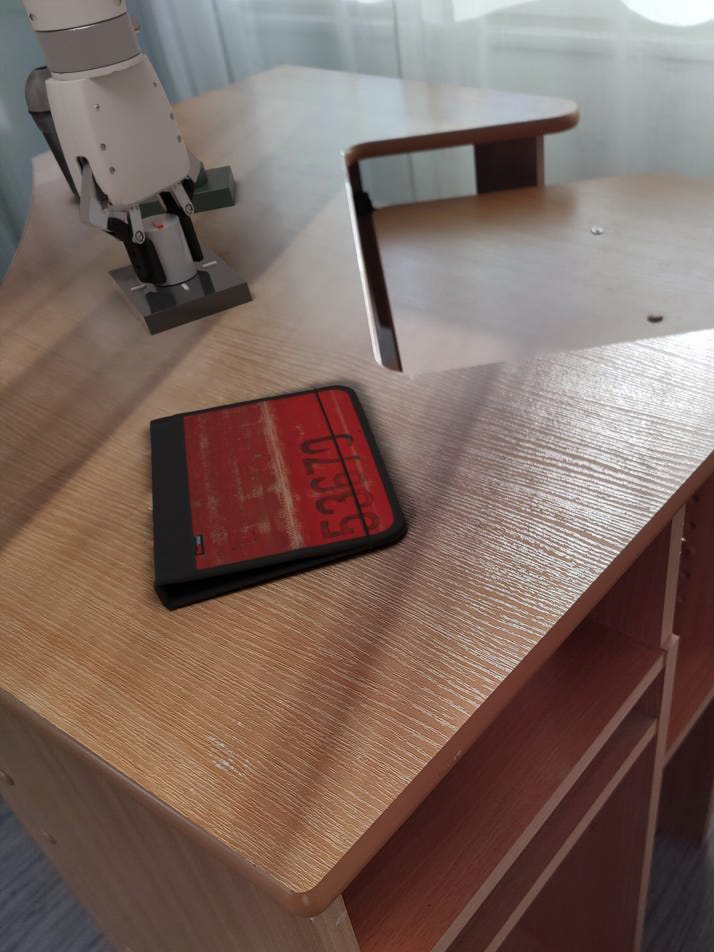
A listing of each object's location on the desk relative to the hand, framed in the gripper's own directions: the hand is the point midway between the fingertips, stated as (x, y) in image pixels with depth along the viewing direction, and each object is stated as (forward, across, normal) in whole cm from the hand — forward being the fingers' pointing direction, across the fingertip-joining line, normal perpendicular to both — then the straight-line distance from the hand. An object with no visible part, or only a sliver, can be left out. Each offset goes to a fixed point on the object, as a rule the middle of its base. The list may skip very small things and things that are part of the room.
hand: (171, 268), depth 84 cm
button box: (+4, -24, -22) cm, 33 cm away
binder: (+4, +22, +29) cm, 37 cm away
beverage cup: (+4, -21, -35) cm, 41 cm away
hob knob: (+1, 0, 0) cm, 1 cm away
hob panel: (+4, 0, 0) cm, 4 cm away
